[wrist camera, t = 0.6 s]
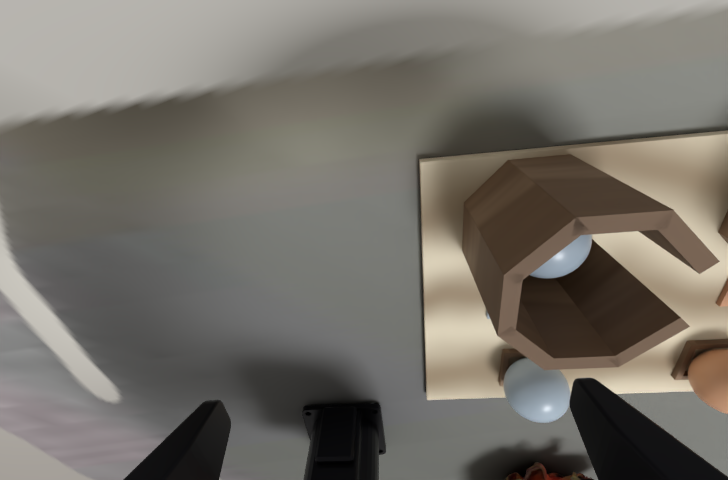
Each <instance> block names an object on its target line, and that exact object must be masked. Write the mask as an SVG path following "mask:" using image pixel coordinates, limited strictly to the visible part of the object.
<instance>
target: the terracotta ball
mask: <svg viewBox="0 0 728 480" xmlns="http://www.w3.org/2000/svg"><path fill="white" fill-rule="evenodd" d="M688 379H689V383H690V385H691V387H692V389H693V390H694V392H695V393H696V394H697V396H698V397H699V398H700V399H701V400H702V401H704V402H705V403H706V404H708V405H709V406H711V407H712V408H714V409H716V410H718V411H720V412H723V413H725V414H728V350H727V349H714V350H709V351H706V352H703V353H701V354H699V355H698V356H696V357H695V358H694V359H693V360H692V362H691V363H690V365H689V369H688Z"/></svg>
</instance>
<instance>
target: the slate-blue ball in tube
mask: <svg viewBox="0 0 728 480" xmlns="http://www.w3.org/2000/svg"><path fill="white" fill-rule="evenodd" d="M591 244H592V234H591V235H581V236H579V237H578V238H577V239H575V240H574V241H573V242H572V243H570V244H569V245H568V246H566V247H565V248H564V249H562V250H561V251H560V252H559V253H557V254H556V255H555V256H553V257H552V258H551V259H549V260H548V261H547V262H546V263H544V264H543V265H542V266H540V267H539V268H538V269H536V270H535V271H534V272H533V273H531V274H530V276H533V277H537V278H546V279H548V278H557V277H561V276H564V275H567V274H569V273H571V272H573V271H574V270H576V269H577V268H578V267H579V266H580V265H581V264H582V263H583V262H584V261H585V259H586V258H587V256H588V254H589V252H590V249H591Z"/></svg>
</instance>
